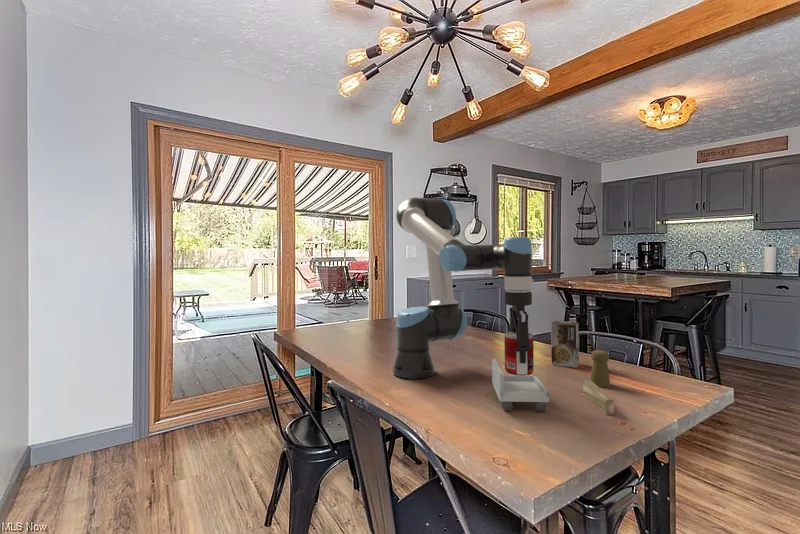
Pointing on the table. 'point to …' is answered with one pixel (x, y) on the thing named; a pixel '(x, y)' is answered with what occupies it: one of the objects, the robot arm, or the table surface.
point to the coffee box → (565, 343)
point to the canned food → (511, 354)
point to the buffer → (598, 397)
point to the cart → (518, 389)
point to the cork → (600, 369)
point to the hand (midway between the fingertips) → (518, 369)
